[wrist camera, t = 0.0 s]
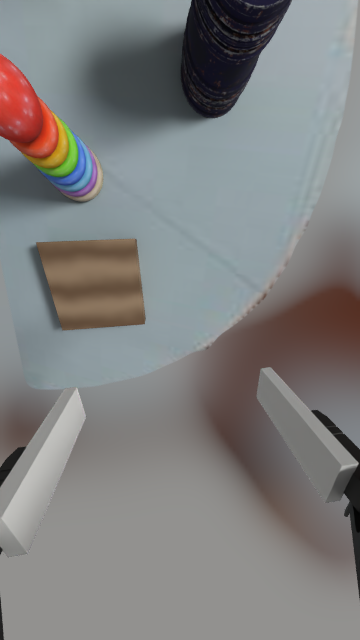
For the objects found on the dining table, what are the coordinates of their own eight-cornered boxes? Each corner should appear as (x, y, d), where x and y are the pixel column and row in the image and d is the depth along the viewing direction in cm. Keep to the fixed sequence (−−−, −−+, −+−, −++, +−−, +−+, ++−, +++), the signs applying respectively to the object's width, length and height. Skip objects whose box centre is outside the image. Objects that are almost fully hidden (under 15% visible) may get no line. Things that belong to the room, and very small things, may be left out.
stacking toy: (101, 208, 33) (37, 167, 15) (51, 194, 31) (-83, 129, 14) (107, 154, 30) (37, 29, 13) (52, 135, 28) (-112, -37, 11)
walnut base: (46, 242, 34) (35, 242, 31) (136, 239, 35) (134, 238, 32) (69, 324, 40) (62, 330, 37) (145, 318, 41) (144, 324, 38)
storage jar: (230, 130, 30) (290, 34, 17) (172, 104, 29) (185, -28, 15) (254, 44, 27) (354, -163, 13) (190, 9, 25) (229, -275, 11)
